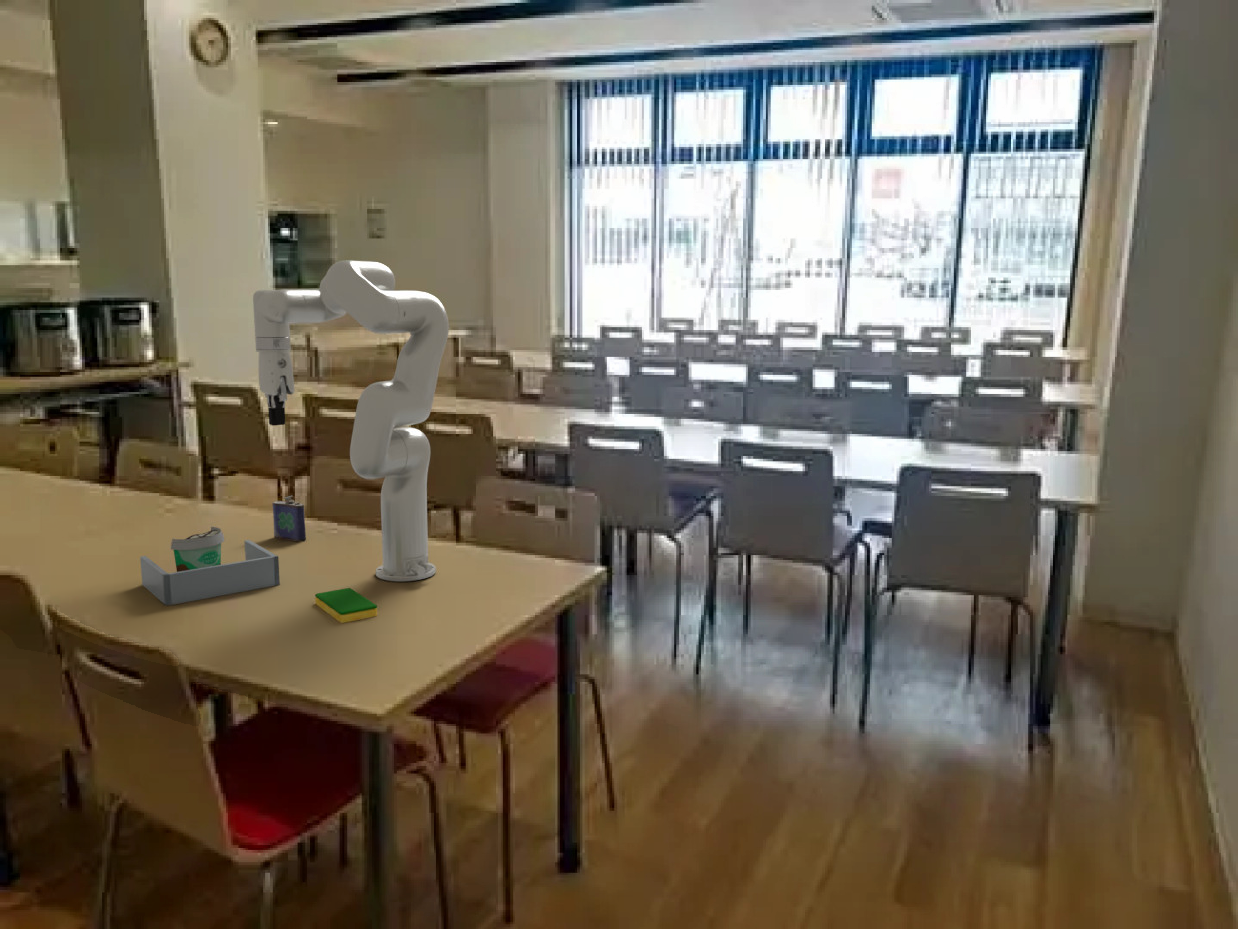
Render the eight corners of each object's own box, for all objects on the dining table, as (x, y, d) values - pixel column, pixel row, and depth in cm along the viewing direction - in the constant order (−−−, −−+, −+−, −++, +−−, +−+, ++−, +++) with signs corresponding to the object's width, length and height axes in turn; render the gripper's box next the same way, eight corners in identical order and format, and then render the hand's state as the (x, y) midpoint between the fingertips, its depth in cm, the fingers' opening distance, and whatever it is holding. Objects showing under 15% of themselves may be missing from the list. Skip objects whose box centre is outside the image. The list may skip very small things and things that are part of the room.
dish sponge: (350, 598, 192) (350, 587, 191) (378, 617, 181) (377, 605, 180) (315, 605, 187) (314, 593, 187) (341, 625, 176) (340, 612, 176)
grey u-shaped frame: (279, 584, 199) (278, 556, 198) (166, 605, 185) (164, 575, 184) (250, 566, 212) (249, 539, 211) (142, 584, 198) (140, 556, 197)
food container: (198, 590, 195) (194, 542, 193) (173, 587, 196) (170, 539, 195) (239, 573, 206) (236, 528, 204) (215, 571, 208) (213, 525, 206)
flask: (271, 538, 236) (269, 495, 234) (280, 535, 239) (278, 493, 237) (301, 542, 232) (299, 499, 230) (309, 539, 235) (307, 496, 233)
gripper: (302, 346, 217) (305, 427, 220) (277, 343, 228) (281, 420, 231) (268, 347, 212) (273, 429, 215) (245, 343, 223) (249, 422, 226)
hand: (277, 424), depth 223 cm, fingers closed
